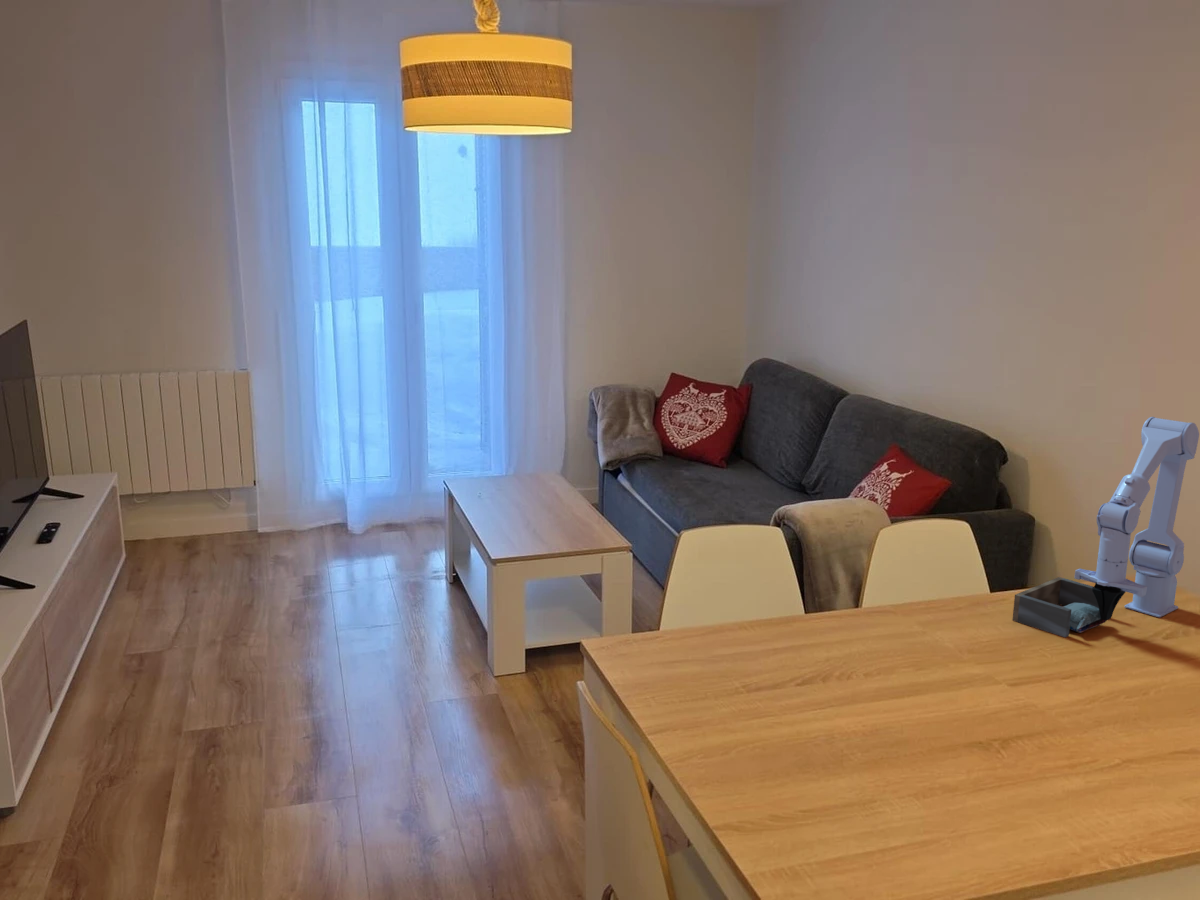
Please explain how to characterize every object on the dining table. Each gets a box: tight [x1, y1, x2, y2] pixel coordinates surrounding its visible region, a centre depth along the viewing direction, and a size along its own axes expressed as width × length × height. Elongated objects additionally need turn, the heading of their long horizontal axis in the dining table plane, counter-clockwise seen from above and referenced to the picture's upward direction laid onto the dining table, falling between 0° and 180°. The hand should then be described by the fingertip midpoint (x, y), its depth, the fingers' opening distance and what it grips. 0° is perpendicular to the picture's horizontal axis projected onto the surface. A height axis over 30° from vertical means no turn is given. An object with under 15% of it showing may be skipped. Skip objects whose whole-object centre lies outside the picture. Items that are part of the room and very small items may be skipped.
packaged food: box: [1063, 603, 1107, 634], centre depth 228 cm, size 9×12×5 cm
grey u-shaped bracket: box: [1011, 576, 1099, 638], centre depth 231 cm, size 19×12×6 cm, turn 128°
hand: (1105, 618), depth 224 cm, fingers closed
